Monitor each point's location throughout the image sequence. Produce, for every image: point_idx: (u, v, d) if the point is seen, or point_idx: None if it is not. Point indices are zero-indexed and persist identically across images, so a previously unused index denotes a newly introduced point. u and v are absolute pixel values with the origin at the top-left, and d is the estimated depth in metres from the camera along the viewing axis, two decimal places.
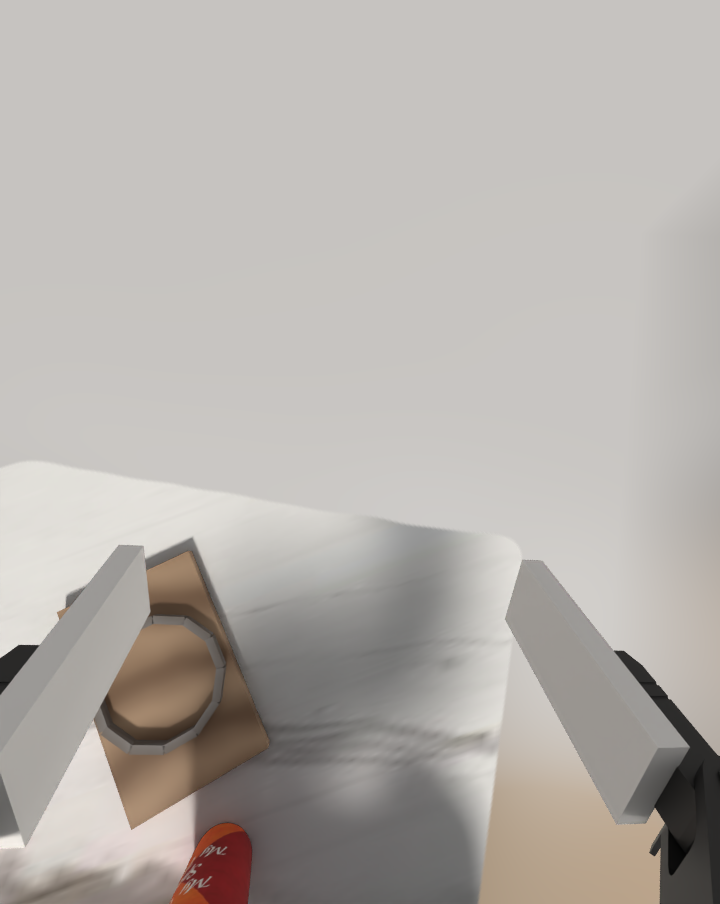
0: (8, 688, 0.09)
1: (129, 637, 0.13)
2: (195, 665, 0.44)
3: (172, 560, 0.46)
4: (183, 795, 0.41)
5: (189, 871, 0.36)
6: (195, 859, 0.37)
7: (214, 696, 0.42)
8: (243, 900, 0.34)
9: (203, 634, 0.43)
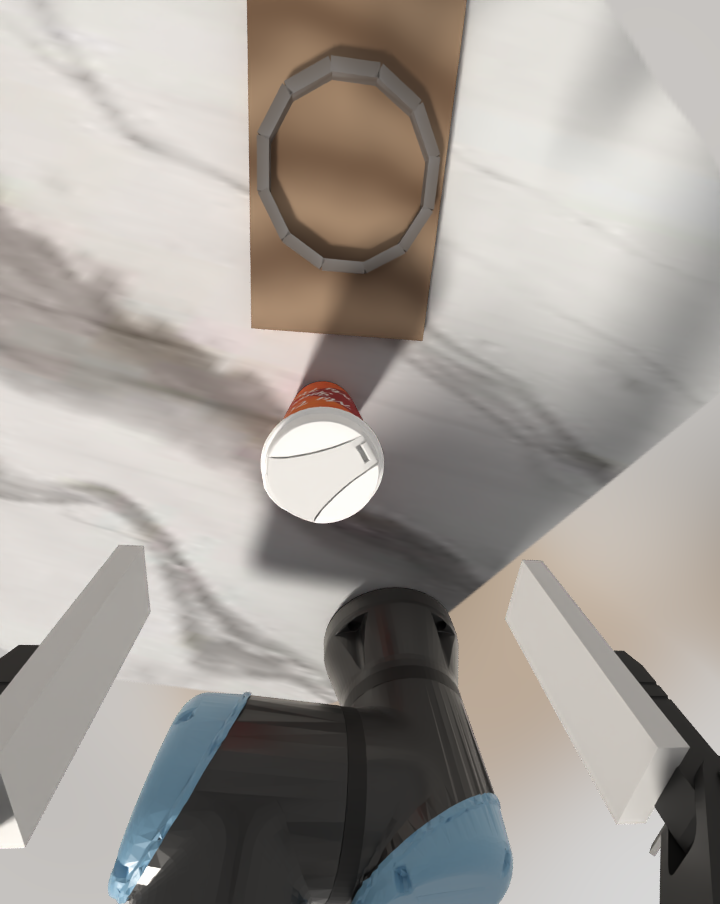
0: (8, 689, 0.09)
1: (129, 637, 0.13)
2: (394, 188, 0.31)
3: None
4: (316, 329, 0.34)
5: (317, 392, 0.31)
6: (319, 389, 0.32)
7: (404, 240, 0.31)
8: None
9: (431, 145, 0.29)
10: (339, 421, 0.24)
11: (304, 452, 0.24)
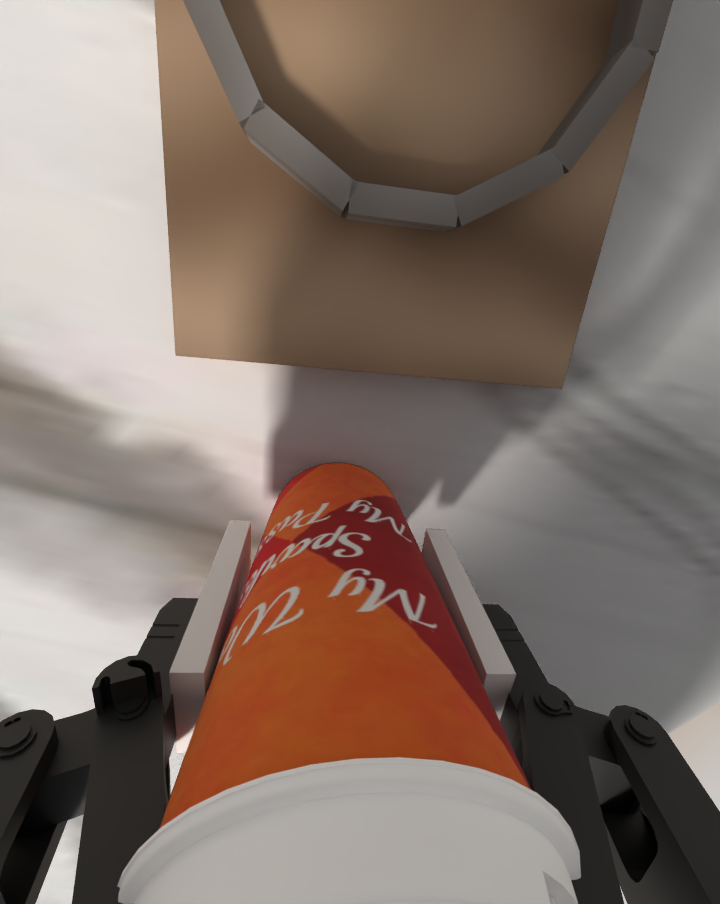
0: (190, 626, 0.11)
1: None
2: None
3: None
4: (328, 361, 0.15)
5: (331, 534, 0.12)
6: (333, 510, 0.13)
7: (568, 139, 0.12)
8: None
9: None
10: (454, 887, 0.05)
11: None
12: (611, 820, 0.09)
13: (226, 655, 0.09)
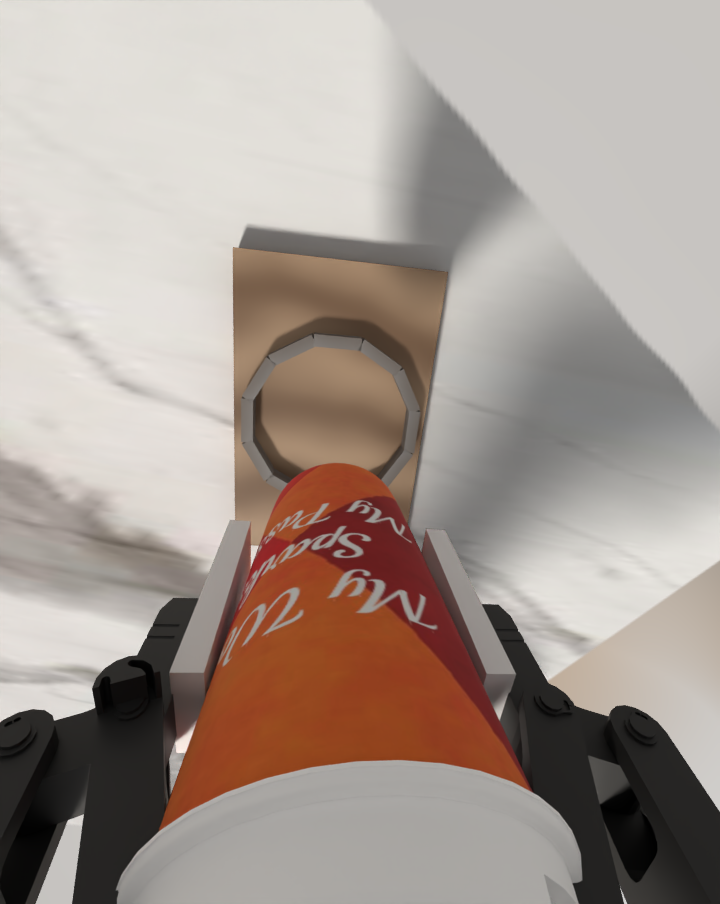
0: (190, 626, 0.11)
1: None
2: (375, 429, 0.31)
3: (420, 272, 0.28)
4: None
5: (330, 535, 0.12)
6: (333, 511, 0.13)
7: (385, 478, 0.32)
8: None
9: (412, 403, 0.30)
10: (455, 893, 0.05)
11: None
12: (610, 820, 0.09)
13: (225, 656, 0.09)
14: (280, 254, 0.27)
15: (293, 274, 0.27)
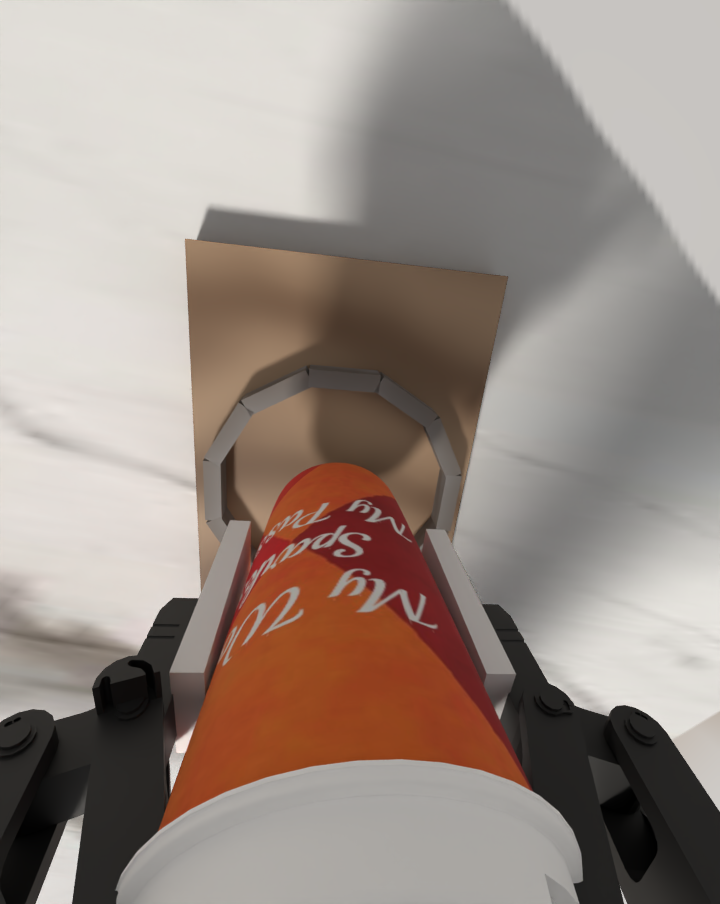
0: (190, 625, 0.11)
1: None
2: (396, 496, 0.22)
3: (467, 277, 0.19)
4: None
5: (331, 534, 0.12)
6: (333, 510, 0.13)
7: None
8: None
9: (450, 464, 0.21)
10: (456, 890, 0.05)
11: None
12: (611, 821, 0.09)
13: (226, 656, 0.09)
14: (258, 250, 0.17)
15: (278, 280, 0.18)
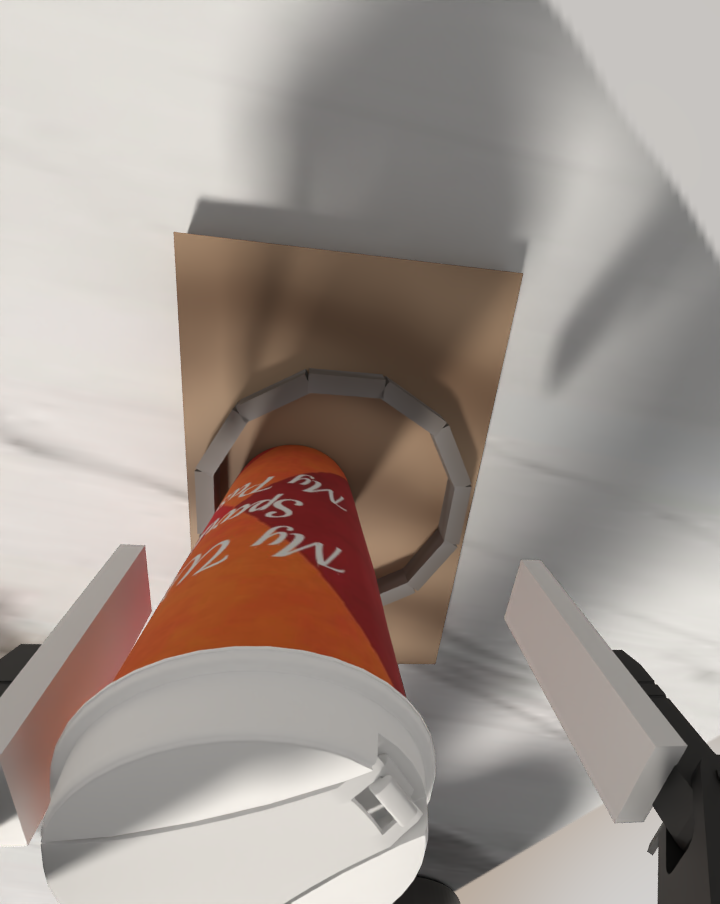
0: (11, 687, 0.09)
1: (131, 636, 0.13)
2: (401, 507, 0.21)
3: (479, 274, 0.17)
4: None
5: (267, 500, 0.13)
6: (276, 482, 0.15)
7: (415, 579, 0.21)
8: None
9: (459, 474, 0.19)
10: (294, 729, 0.06)
11: (169, 823, 0.07)
12: None
13: (164, 596, 0.11)
14: (253, 244, 0.16)
15: (274, 277, 0.17)
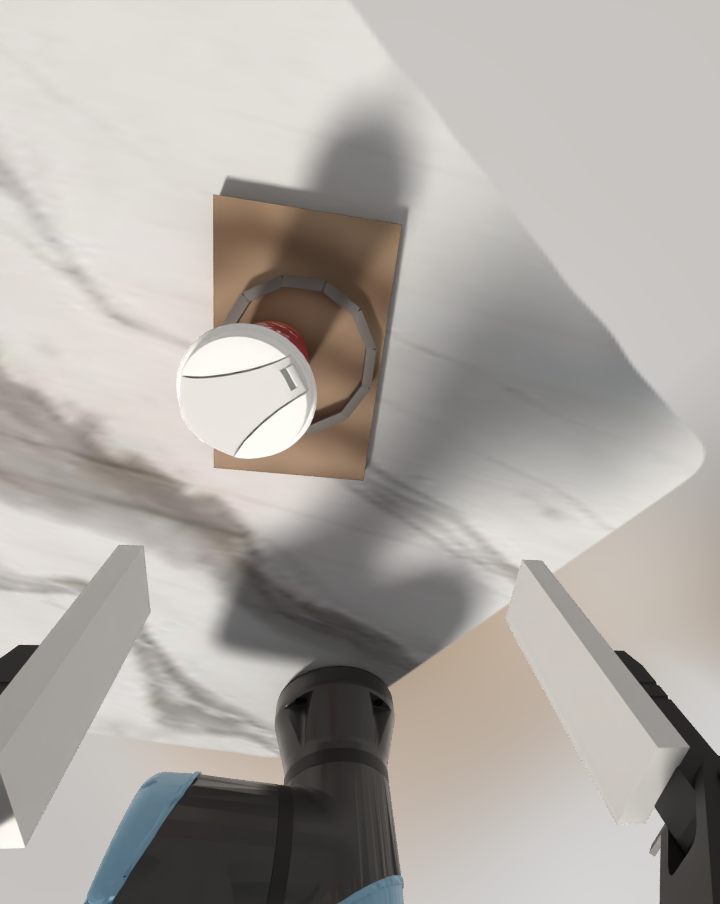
0: (8, 689, 0.09)
1: (129, 637, 0.13)
2: (338, 366, 0.36)
3: (377, 224, 0.32)
4: (270, 470, 0.39)
5: (258, 323, 0.28)
6: (262, 322, 0.29)
7: (345, 410, 0.36)
8: None
9: (369, 341, 0.34)
10: (261, 338, 0.21)
11: (221, 372, 0.21)
12: None
13: None
14: (254, 202, 0.31)
15: (265, 221, 0.31)
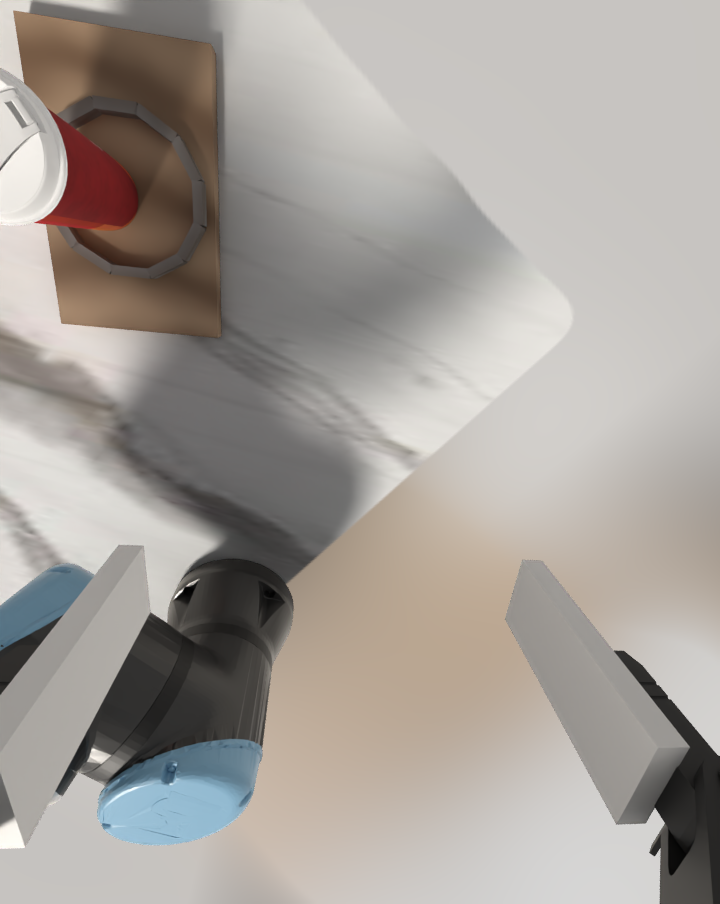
0: (8, 689, 0.09)
1: (129, 637, 0.13)
2: (171, 206, 0.36)
3: (185, 43, 0.32)
4: (120, 326, 0.39)
5: None
6: None
7: (181, 250, 0.36)
8: (97, 178, 0.28)
9: (192, 171, 0.34)
10: None
11: None
12: None
13: None
14: (56, 19, 0.31)
15: (71, 41, 0.31)
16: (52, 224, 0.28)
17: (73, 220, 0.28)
